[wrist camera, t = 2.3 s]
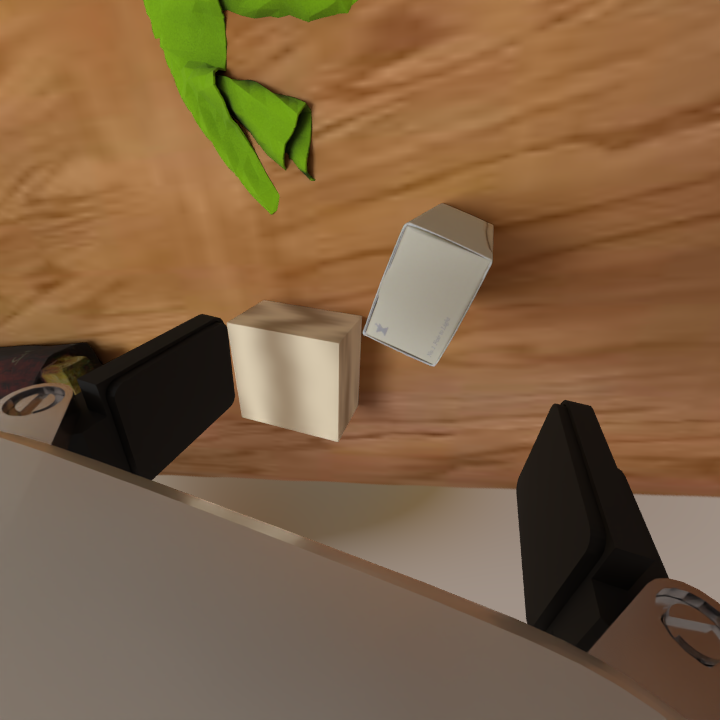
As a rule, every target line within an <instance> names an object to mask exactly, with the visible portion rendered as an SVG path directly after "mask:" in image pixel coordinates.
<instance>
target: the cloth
mask: <svg viewBox="0 0 720 720" xmlns="http://www.w3.org/2000/svg"><path fill="white" fill-rule="evenodd" d="M143 1H144V5H145V8H146V12H147V15H148V16H149V17H150V19H151V24H152V30H153V33H154V36H155V39H156V38H160V47H161V48H162V49H163V50H164V54H165V59H166V62H167V64H168V67H169V68H170V69H171V73H172V75H173V77H174V79H175V83H176V86H177V88H178V91H179V93H180V95H181V98H182V99H183V101H184V103H185V105H186V106H187V108H188V110H189V111H190V112H191V113H192V114H193V117H194V119H195V120H196V122H197V124H198V125H199V127H200V128H201V130H202V131H203V133H204V134H205V135H206V137H207V138H208V139H209V140H210V141H211V142H213V145H214V147H215V149H216V150H217V152H218V153H219V155H220V157H221V158H222V160H223V161H224V162H225V163H226V165H227V166H228V167H229V169H230V170H232V171H233V172H234V173H235V175H236V176H237V177H238V178H239V179H240V181H241V182H242V184H243V185H244V186H245V188H246V189H247V190H248V191H249V193H250V194H251V195H252V196H253V197H254V198H255V199H256V200H257V201H258V202H259V203H260V204H261V205H262V206H263V207H264V208H265V209H266V210H267V211H268V212H269V213H270V214H273V213H274V212H276V211H277V208H278V202H279V194H278V192H277V191H276V189H275V187H274V186H273V184H272V182H271V181H270V179H269V177H268V176H267V174H266V172H265V170H264V168H263V166H262V164H261V162H260V160H259V158H258V156H257V154H256V152H255V150H254V149H253V147H252V146H251V144H250V143H249V141H248V140H247V138H246V136H245V135H244V133H243V132H242V130H241V129H240V127H239V126H238V124H237V123H236V122H235V121H234V120H232V119H231V117H230V115H231V116H233V117H234V118H235V119H236V120H238V121H239V122H240V123H241V124H242V125H243V126H244V127H245V128H246V129H247V130H248V131H249V132H250V133H251V134H252V136H253V137H254V138H255V140H256V141H257V143H258V144H259V145H260V146H261V147H262V149H263V150H264V151H265V153H266V154H267V155H268V156H269V157H270V158H272V159H273V160H274V161H275V162H276V163H278V164H279V165H280V166H281V167H282V168H283V169H285V170H286V167H285V165H284V153H288V155H289V158H290V159H292V160H293V161H294V163H295V164H296V165H297V167H298V168H299V169H300V170H301V171H302V172H303V173H304V174H305V175H306V176H307V177H308V178H309V179H310V180H311V181H315V179H314V178H313V177H312V176H310V175H309V173H308V172H307V158H308V154H309V149H310V142H311V132H312V117H311V110H310V108H309V107H308V106H307V104H306V103H305V102H303V101H301V100H299V99H296V98H293V97H290V96H285V95H280V94H275V93H272V92H270V91H269V90H267V89H266V88H265V87H263V86H262V85H260V84H259V83H257V82H255V81H252V80H236V79H230V78H228V77H225V76H218V75H215V72H217V71H218V70H221V71H226V53H227V40H226V32H225V31H226V24H225V16H224V13H223V11H222V10H224V11H225V10H229V11H231V12H234V13H236V14H239V15H242V16H246V17H250V18H261V17H268V16H272V17H277V18H279V17H283V16H287V15H291V16H294V17H296V18H299V19H302V20H304V21H307V22H310V21H313V20H316V19H319V18H323V17H327V16H332V15H336V14H339V13H348V12H349V10H350V8H351V6H352V5H353V4H354V3H355V2H356V1H358V0H143Z"/></svg>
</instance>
